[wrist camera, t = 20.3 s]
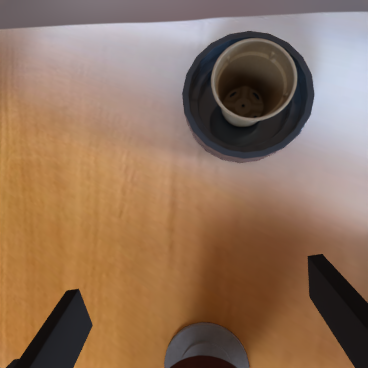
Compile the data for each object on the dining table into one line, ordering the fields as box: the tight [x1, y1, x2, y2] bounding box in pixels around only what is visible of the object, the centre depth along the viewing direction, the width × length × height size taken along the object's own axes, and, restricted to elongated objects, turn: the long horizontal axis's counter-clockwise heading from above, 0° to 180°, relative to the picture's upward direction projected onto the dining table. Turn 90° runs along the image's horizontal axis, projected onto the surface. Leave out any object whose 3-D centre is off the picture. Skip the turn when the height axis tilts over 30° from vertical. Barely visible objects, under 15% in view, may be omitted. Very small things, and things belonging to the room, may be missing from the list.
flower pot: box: [211, 38, 297, 127], centre depth 31 cm, size 9×9×9 cm
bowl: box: [182, 31, 314, 163], centre depth 33 cm, size 17×17×5 cm
